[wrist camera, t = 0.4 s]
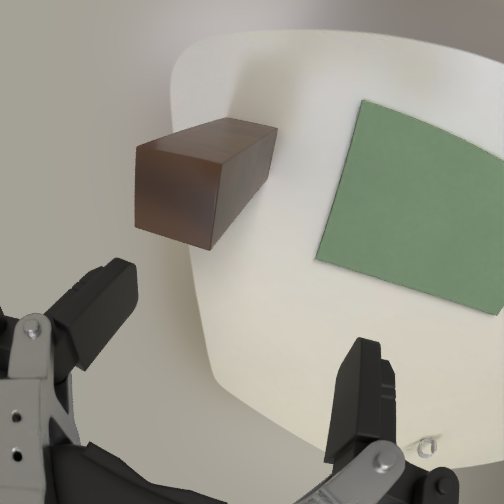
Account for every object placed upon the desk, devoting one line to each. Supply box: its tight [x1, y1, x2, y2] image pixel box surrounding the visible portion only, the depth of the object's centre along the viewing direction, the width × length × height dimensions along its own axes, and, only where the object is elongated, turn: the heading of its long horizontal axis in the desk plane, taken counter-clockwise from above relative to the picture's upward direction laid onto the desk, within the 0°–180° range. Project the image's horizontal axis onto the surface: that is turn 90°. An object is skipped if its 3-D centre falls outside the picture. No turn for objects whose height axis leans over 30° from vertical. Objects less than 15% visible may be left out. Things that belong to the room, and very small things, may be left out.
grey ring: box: [417, 438, 437, 458], centre depth 41 cm, size 4×2×4 cm, turn 100°
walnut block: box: [135, 118, 278, 251], centre depth 22 cm, size 5×5×14 cm
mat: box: [316, 100, 504, 316], centre depth 25 cm, size 16×24×1 cm, turn 79°
